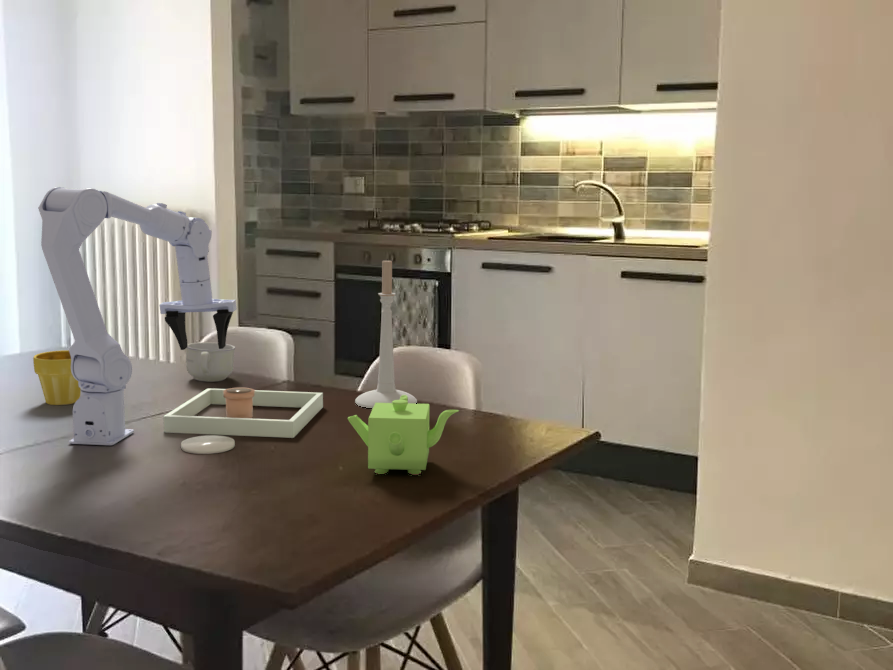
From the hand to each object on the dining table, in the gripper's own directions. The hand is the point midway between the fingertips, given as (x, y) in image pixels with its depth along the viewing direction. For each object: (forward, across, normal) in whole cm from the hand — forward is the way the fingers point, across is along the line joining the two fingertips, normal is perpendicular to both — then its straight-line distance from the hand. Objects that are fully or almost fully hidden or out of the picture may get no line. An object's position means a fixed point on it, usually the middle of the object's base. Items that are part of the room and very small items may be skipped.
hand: (203, 348), depth 195 cm
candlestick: (+17, -33, -12) cm, 39 cm away
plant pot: (+12, +32, -3) cm, 34 cm away
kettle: (+12, -43, +32) cm, 55 cm away
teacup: (+16, +10, -28) cm, 33 cm away
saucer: (+11, -8, +25) cm, 28 cm away
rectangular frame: (+13, -9, +5) cm, 17 cm away
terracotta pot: (+13, -8, +7) cm, 17 cm away
